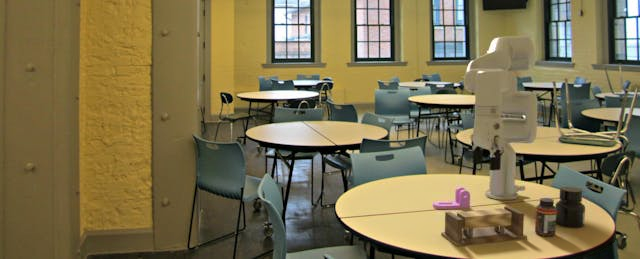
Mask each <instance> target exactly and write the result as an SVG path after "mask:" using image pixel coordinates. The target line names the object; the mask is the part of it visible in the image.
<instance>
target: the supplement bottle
mask: <svg viewBox="0 0 640 259" xmlns="http://www.w3.org/2000/svg"><path fill="white" fill-rule="evenodd" d="M555 206H556V205H555V200H554V199H553V198H549V197H541V198H540V199H539V203H538V204H537V205H536V208H535V221H534V222H535V226H534V232H535V233H536V234H537V235H539V236H541V235H542V237H553V236H555V234H556V228H557V227H556V225H557V223H556V212H557V209H556V207H555Z"/></svg>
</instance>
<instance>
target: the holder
mask: <svg viewBox="0 0 640 259" xmlns="http://www.w3.org/2000/svg"><path fill="white" fill-rule="evenodd" d="M503 209H505V210H507V211H509V212H511V213H512V214H511V225H507V226H498V227H488V228H479V229H469V230H464V229H463V219H461V218H460V217H458V216H457V214H456V213H455V214H454V213H453V212H451V211H445V215H444V232H441V233H440V234H441V236H442V237H443V238H445V239H446V240H447V241H449V242H451V243H452V244H453V245H455V247H462V246H470V245H479V244H481V245H482V244H488V243H489V244H490V243H497V242H506V241H507V240H508V241H515V240H514V239H517V240H525V239H524V238H526V239H527V238H528V235H527V234H524V224H525V222H524V220H525V213H524V212H522V211H520V210H518V209H516V208H514V207H511V206H510V205H507V206H506V205H505V206H504V208H503ZM508 241H507V242H508Z"/></svg>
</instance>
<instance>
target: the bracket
mask: <svg viewBox="0 0 640 259" xmlns="http://www.w3.org/2000/svg"><path fill="white" fill-rule="evenodd" d="M454 197H455V199H454V200H452V201H449V200H448V201H447V200H446V201H435V202H433V203H432V207H433V208H434V209H435V210H436V209H437V210H455V209H456V210H459V209H463V210H464V209H470V208H471V193H470V192H469V191H468V190H466V189H465V187H463V186H457V188H456V189H455V196H454Z"/></svg>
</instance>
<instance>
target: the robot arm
mask: <svg viewBox="0 0 640 259" xmlns="http://www.w3.org/2000/svg"><path fill="white" fill-rule="evenodd" d="M536 57H537V56H536V50H535V43H534V41H533V40H532V38H530V37H529V36H526V35H519V36H518V35H515V36H513V35H512V36H511V35H510V36H507V35H506V36H499V37H496V38H494V39H493V40H492V41H491V42H490V45H489V47H488V50H487V51H486V53H485V54H483V55H481V56H479V57H477V58H475V59H473V60H471V61H470V62H469V63H468V65H467V68H466V70H465V73H464V76H463V86H464V89H465V90H466V91H467V92H470V93H475V94H474V98H475V100H474V120H473V121H474V122H473V130H472V134H470V136H469V137H470V141H471V143H470V145H471V150H472V164H482V163H483V160H484V159H483V156H484V154H483V152H484V151H483V149H484V150H488V151H489V153H490V156H489V160H490V161H489V189H488V190H485V191H484V192H485V193H484V195H485V196H486V197H488V198H490V199H494V200H499V201H500V200H501V201H502V200H503V201H510V200H511V201H513V200H516V199H518V198H519V194H518V192H519V191H520V192H522V191H523V192H524V191H525V190H526V186H525V185H517V184H516V162H517V161H516V159H517V155H516V151H515V149H514V148H513V146H512V145H511V144H512V143H515V144H532V143H534V142H535V141H536V138H537V132H538V97H537V95H536V93H535V92H533V91H529V90H528V91H527V90H526V91H525V90H523V91H522V90H518V78H517V75H516V73H515V72H528V71H529V72H530V71H531V70H533V68H534V67H535V65H536V59H537V58H536ZM502 116H516V117H519V116H520V117H523V118H516V117H515V118H514V117H512V118H511V117H502Z"/></svg>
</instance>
